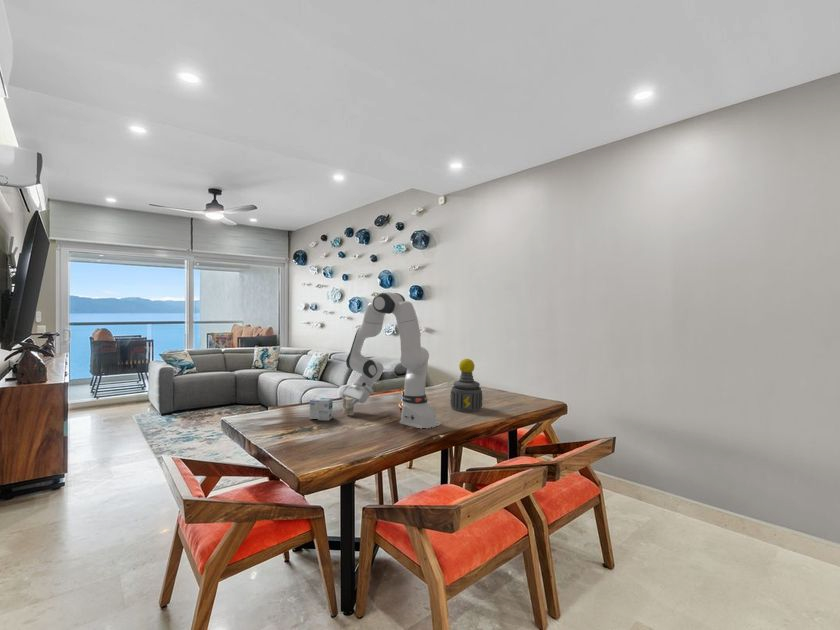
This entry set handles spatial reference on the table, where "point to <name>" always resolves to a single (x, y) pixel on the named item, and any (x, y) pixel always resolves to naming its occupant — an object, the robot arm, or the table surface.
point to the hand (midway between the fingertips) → (347, 405)
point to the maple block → (347, 406)
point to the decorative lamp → (466, 390)
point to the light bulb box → (321, 408)
